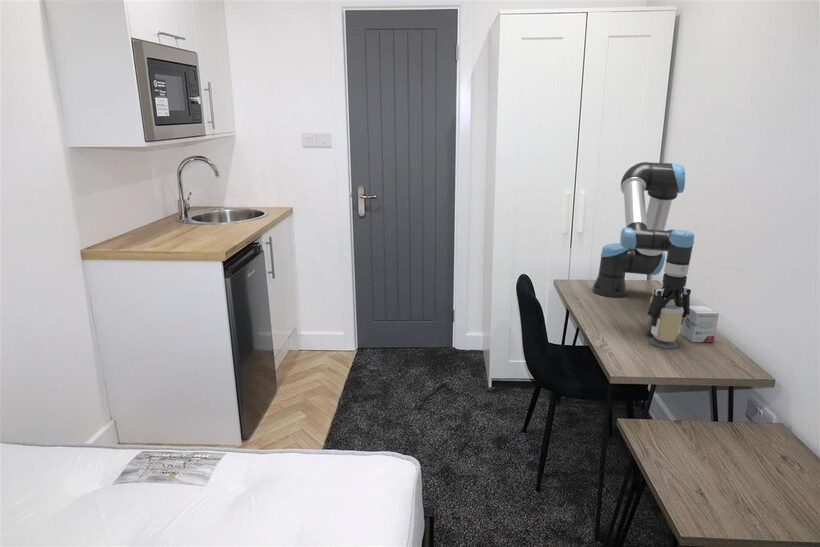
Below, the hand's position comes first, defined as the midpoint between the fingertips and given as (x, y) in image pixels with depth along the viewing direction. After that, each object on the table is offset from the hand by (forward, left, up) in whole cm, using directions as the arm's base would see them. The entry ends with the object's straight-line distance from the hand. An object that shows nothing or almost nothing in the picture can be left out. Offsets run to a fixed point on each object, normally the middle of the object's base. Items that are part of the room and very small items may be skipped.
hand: (665, 333), depth 199 cm
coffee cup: (0, 0, -2) cm, 2 cm away
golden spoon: (-11, -6, +9) cm, 16 cm away
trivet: (0, 0, -4) cm, 4 cm away
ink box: (-13, +10, -4) cm, 17 cm away
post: (-5, -5, -4) cm, 8 cm away
